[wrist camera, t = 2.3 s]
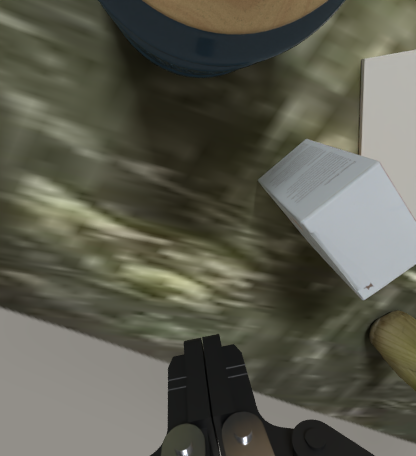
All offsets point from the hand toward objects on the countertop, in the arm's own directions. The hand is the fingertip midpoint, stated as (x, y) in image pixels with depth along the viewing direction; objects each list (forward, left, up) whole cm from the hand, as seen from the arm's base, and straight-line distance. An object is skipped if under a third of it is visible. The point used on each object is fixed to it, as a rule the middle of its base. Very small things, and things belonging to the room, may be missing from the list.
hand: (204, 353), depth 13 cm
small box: (0, +11, -17) cm, 20 cm away
